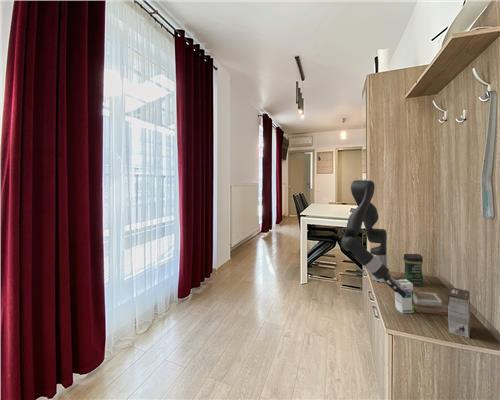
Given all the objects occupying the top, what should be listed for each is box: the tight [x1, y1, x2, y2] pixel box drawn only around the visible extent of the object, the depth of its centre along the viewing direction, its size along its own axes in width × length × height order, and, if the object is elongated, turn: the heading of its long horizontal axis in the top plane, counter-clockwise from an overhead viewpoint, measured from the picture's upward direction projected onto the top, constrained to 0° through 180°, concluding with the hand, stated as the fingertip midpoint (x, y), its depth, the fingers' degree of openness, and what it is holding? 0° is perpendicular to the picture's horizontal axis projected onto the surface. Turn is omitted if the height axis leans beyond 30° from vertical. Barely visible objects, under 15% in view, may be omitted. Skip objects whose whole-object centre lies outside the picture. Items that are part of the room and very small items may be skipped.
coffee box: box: [447, 286, 471, 339], centre depth 97 cm, size 9×6×16 cm
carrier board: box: [414, 293, 448, 316], centre depth 119 cm, size 20×14×2 cm
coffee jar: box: [402, 253, 424, 287], centre depth 142 cm, size 10×8×19 cm
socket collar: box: [413, 290, 442, 308], centre depth 118 cm, size 10×10×3 cm
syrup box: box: [394, 278, 415, 314], centre depth 114 cm, size 6×6×14 cm
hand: (402, 292), depth 114 cm, fingers open, 8 cm apart
